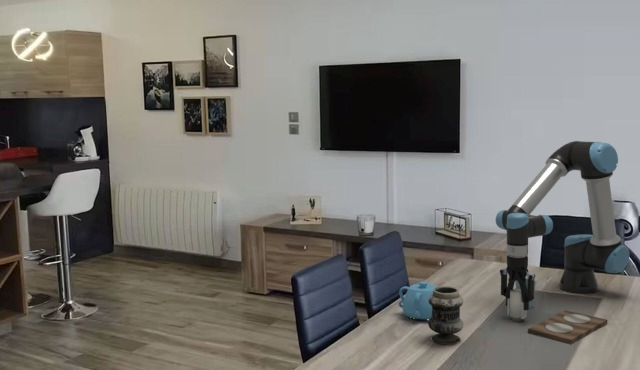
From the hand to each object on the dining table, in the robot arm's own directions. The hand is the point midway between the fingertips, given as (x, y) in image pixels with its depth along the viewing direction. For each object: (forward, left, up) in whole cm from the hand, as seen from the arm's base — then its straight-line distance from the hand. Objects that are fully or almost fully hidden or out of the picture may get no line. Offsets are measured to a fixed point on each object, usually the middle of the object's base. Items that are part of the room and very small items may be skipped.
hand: (517, 316), depth 245 cm
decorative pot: (+20, -28, -2) cm, 34 cm away
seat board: (-4, +18, -1) cm, 18 cm away
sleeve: (0, 0, -1) cm, 1 cm away
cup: (-16, -6, -2) cm, 17 cm away
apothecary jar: (+34, -7, -2) cm, 35 cm away
